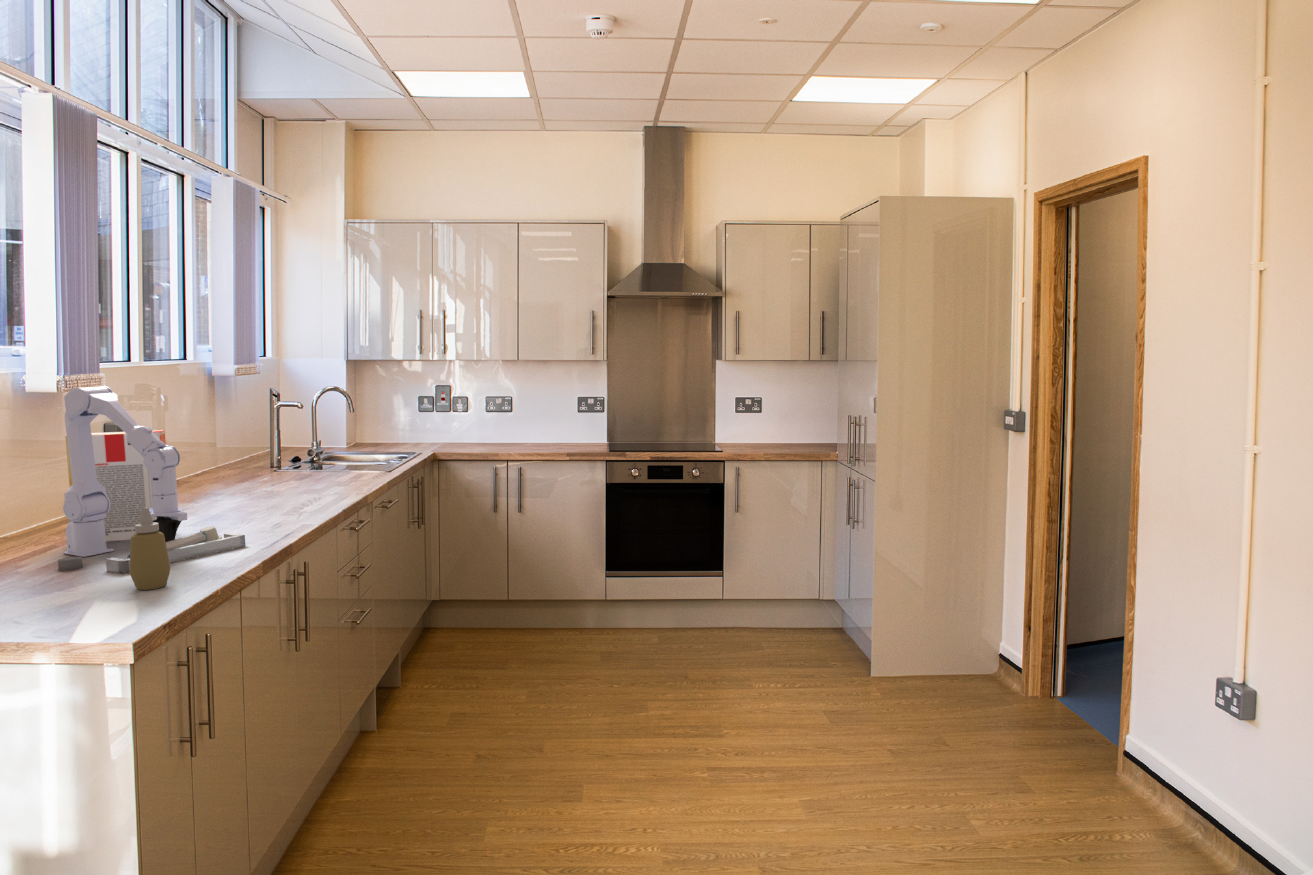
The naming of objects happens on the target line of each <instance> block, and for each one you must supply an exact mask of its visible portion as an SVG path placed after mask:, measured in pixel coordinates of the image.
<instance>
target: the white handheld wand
mask: <svg viewBox="0 0 1313 875" xmlns="http://www.w3.org/2000/svg"><path fill="white" fill-rule="evenodd" d="M222 538H223V536H222V535H219V534H218V531H217V528H216V527H215V526H213V525H212V526H207V527H206V526H205V527H202V529H200V530H199V531H198V532H196V533H192V534H188V535H186V536H182V537H179V538H178V537H177V538H175V540H172V541H169V542H166V547H167V550H171V549H175V548H180V547H185V546H189V545H194V544H199V543H203V542H208V541H213V540H217V539H222ZM129 558H130V553H129V554H128V555H127V557H126V559H129Z"/></svg>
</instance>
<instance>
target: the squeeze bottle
mask: <svg viewBox="0 0 1313 875" xmlns="http://www.w3.org/2000/svg"><path fill="white" fill-rule="evenodd" d="M158 530H159V523H156V522H153V520H152V517H151V514H150V511H149V508H142V514H141V520H140V524H136V525H135V532H136V533H137V534H134V535H133V536H132V537H131V540H130V547H129V548H130V549H129V550H130V552H129V554H130V572H129V576H130V578H131V580H132V581H133V582H132V583H133V584H134V586H135V588H136V590H139V591H149V590H156V589H160V588H162V587H165V586H167V583H168V580H169V577H170V573H171V570H172V569H171V563H169V558H168V553H167V547H166V542H165V537H164V534H163V533H162V532H159V531H158Z"/></svg>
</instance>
